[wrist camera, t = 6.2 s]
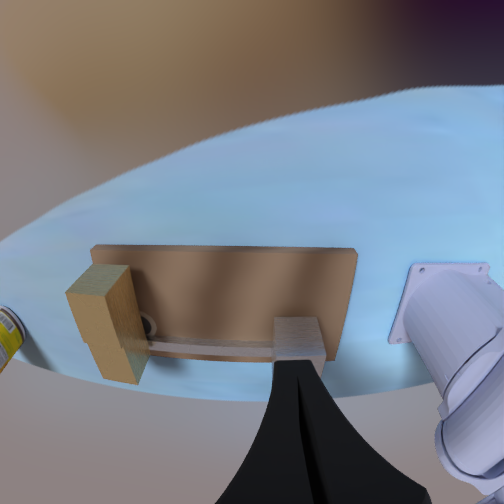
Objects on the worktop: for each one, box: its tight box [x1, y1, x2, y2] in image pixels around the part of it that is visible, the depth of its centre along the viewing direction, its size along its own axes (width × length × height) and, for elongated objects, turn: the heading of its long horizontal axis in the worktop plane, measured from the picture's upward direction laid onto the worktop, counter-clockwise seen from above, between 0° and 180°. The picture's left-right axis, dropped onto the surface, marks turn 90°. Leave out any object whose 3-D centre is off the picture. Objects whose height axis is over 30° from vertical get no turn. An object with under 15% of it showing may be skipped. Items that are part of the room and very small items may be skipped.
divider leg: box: [65, 264, 151, 385], centre depth 18 cm, size 3×8×5 cm, turn 0°
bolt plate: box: [90, 245, 358, 362], centre depth 21 cm, size 19×10×1 cm, turn 90°
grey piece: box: [146, 317, 326, 380], centre depth 19 cm, size 16×4×5 cm, turn 90°
